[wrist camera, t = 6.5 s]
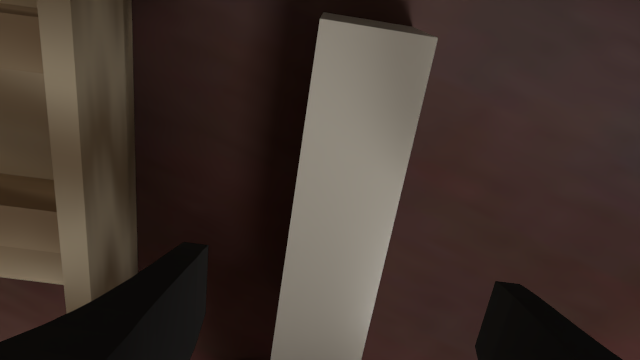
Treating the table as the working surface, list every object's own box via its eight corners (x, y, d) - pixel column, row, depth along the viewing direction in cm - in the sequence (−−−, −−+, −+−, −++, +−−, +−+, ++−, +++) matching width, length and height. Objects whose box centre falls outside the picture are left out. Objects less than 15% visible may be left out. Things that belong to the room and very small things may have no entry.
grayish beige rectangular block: (352, 298, 23) (357, 375, 18) (282, 288, 23) (270, 362, 18) (411, 26, 18) (437, 37, 14) (323, 11, 18) (320, 18, 14)
